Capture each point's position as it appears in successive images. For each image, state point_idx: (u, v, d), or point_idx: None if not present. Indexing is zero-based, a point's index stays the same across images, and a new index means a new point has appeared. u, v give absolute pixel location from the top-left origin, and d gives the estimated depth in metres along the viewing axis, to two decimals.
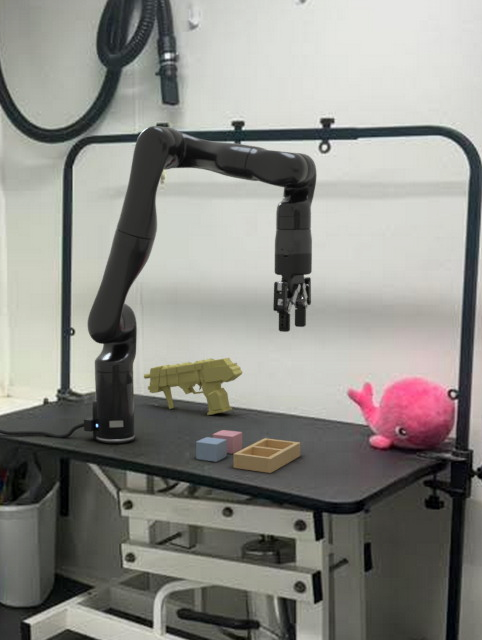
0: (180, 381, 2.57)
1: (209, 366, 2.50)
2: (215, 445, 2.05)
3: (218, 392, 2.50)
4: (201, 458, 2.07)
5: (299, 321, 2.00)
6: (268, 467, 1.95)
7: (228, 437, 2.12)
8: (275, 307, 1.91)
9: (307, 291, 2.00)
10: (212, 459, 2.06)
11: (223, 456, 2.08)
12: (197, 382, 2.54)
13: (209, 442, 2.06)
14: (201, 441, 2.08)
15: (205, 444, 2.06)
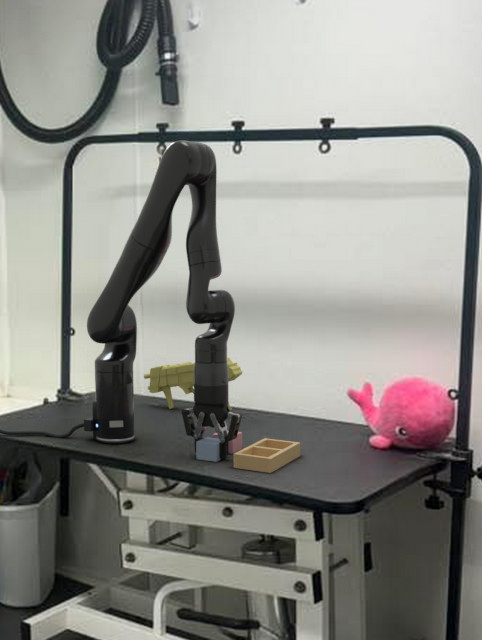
0: (180, 381, 2.57)
1: None
2: (215, 445, 2.05)
3: None
4: (201, 458, 2.07)
5: None
6: (268, 467, 1.95)
7: None
8: None
9: None
10: (212, 459, 2.06)
11: None
12: None
13: (209, 442, 2.06)
14: (201, 441, 2.08)
15: (205, 444, 2.06)
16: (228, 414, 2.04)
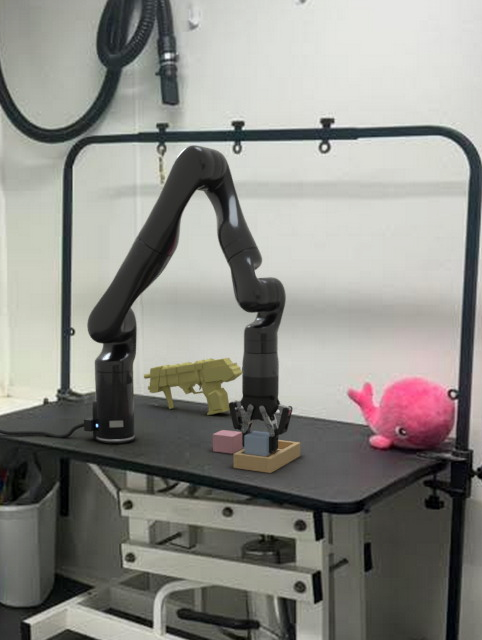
0: (180, 381, 2.57)
1: (209, 366, 2.50)
2: (265, 439, 1.97)
3: (218, 392, 2.50)
4: (249, 453, 1.99)
5: None
6: (268, 467, 1.95)
7: (228, 437, 2.12)
8: None
9: None
10: (261, 454, 1.98)
11: None
12: (197, 382, 2.54)
13: (258, 436, 1.98)
14: (249, 434, 2.00)
15: (254, 438, 1.98)
16: (278, 407, 1.96)
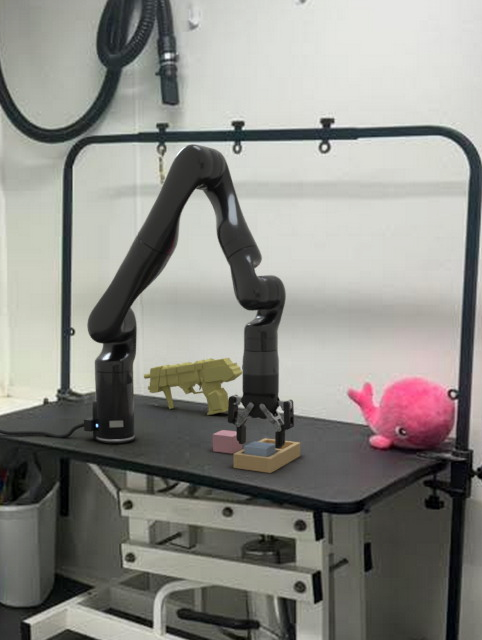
0: (180, 381, 2.57)
1: (209, 366, 2.50)
2: (265, 450, 1.97)
3: (218, 392, 2.50)
4: None
5: None
6: (268, 467, 1.95)
7: (228, 437, 2.12)
8: None
9: None
10: None
11: None
12: (197, 382, 2.54)
13: (258, 447, 1.99)
14: (249, 445, 2.00)
15: (254, 449, 1.98)
16: (279, 405, 1.96)
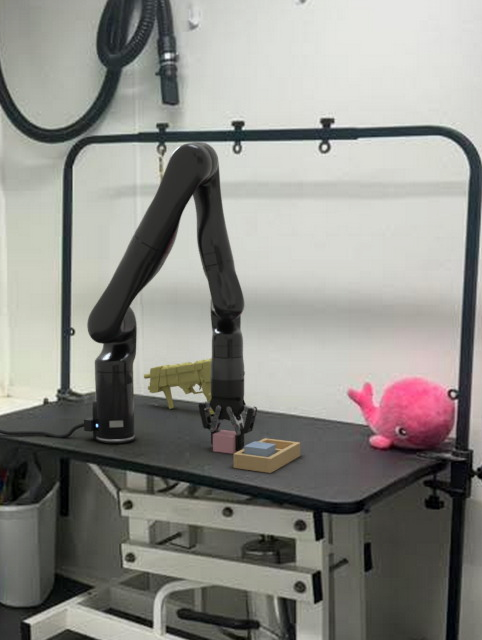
0: (180, 381, 2.57)
1: (209, 366, 2.50)
2: (265, 450, 1.97)
3: None
4: None
5: None
6: (268, 467, 1.95)
7: (228, 437, 2.12)
8: (248, 431, 2.10)
9: (209, 413, 2.17)
10: None
11: None
12: (197, 382, 2.54)
13: (258, 447, 1.99)
14: (249, 445, 2.00)
15: (254, 449, 1.98)
16: None
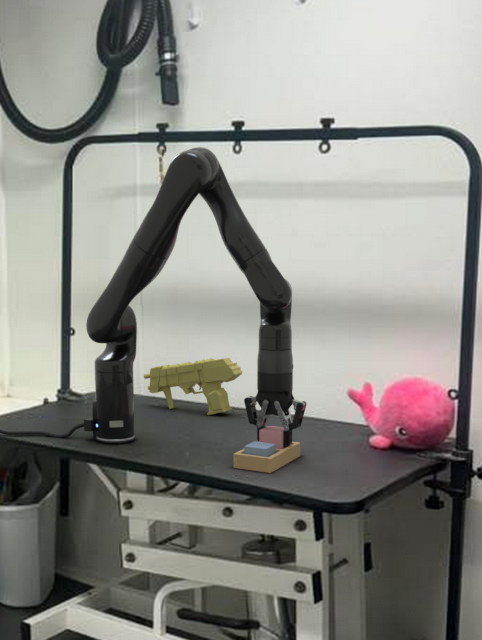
0: (180, 381, 2.57)
1: (209, 366, 2.50)
2: (265, 450, 1.97)
3: (218, 392, 2.50)
4: None
5: None
6: (268, 467, 1.95)
7: (276, 433, 2.03)
8: (297, 426, 2.02)
9: (255, 408, 2.09)
10: None
11: None
12: (197, 382, 2.54)
13: (258, 447, 1.99)
14: (249, 445, 2.00)
15: (254, 449, 1.98)
16: None
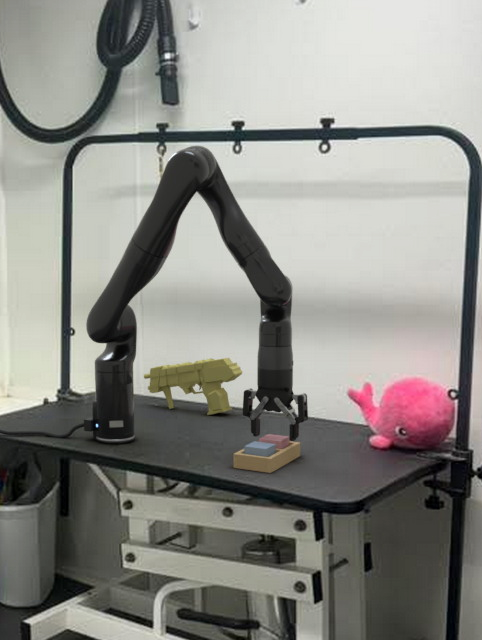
0: (180, 381, 2.57)
1: (209, 366, 2.50)
2: (265, 450, 1.97)
3: (218, 392, 2.50)
4: None
5: (257, 431, 2.08)
6: (268, 467, 1.95)
7: (275, 442, 2.04)
8: (304, 419, 2.01)
9: (252, 401, 2.09)
10: None
11: None
12: (197, 382, 2.54)
13: (258, 447, 1.99)
14: (249, 445, 2.00)
15: (254, 449, 1.98)
16: None
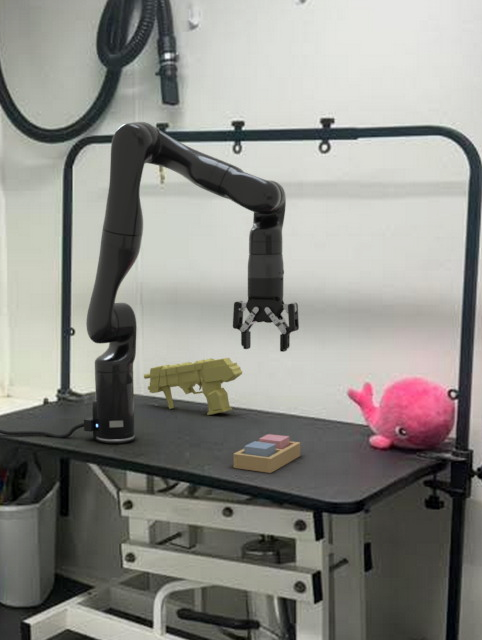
0: (180, 381, 2.57)
1: (209, 366, 2.50)
2: (265, 450, 1.97)
3: (218, 392, 2.50)
4: None
5: (248, 343, 2.06)
6: (268, 467, 1.95)
7: (275, 442, 2.04)
8: (295, 328, 1.98)
9: (242, 314, 2.06)
10: None
11: None
12: (197, 382, 2.54)
13: (258, 447, 1.99)
14: (249, 445, 2.00)
15: (254, 449, 1.98)
16: None
